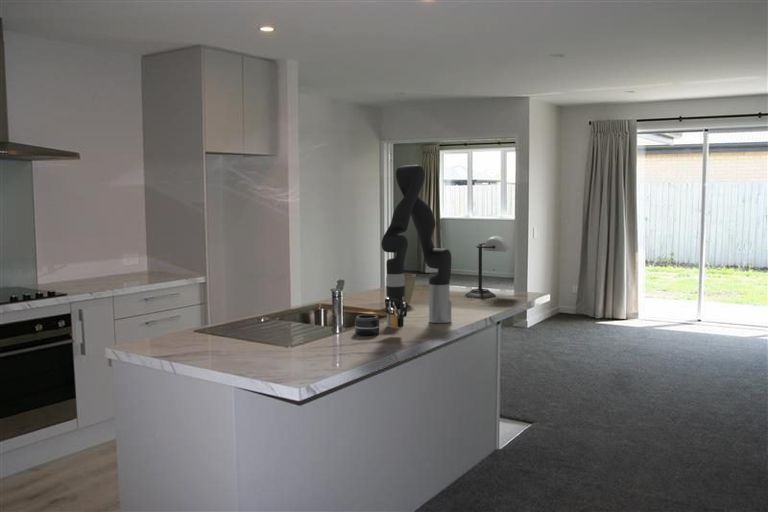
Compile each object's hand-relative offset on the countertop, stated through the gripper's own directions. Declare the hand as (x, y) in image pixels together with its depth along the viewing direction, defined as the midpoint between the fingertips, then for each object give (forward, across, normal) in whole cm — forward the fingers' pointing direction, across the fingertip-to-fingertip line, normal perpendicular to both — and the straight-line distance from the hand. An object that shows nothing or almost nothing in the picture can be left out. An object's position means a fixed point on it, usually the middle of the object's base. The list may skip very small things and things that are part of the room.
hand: (396, 325), depth 267 cm
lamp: (+7, +64, -99) cm, 118 cm away
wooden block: (+1, 0, 0) cm, 1 cm away
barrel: (+4, +11, +8) cm, 14 cm away
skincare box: (+5, +20, -12) cm, 24 cm away
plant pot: (+6, +64, -43) cm, 77 cm away
